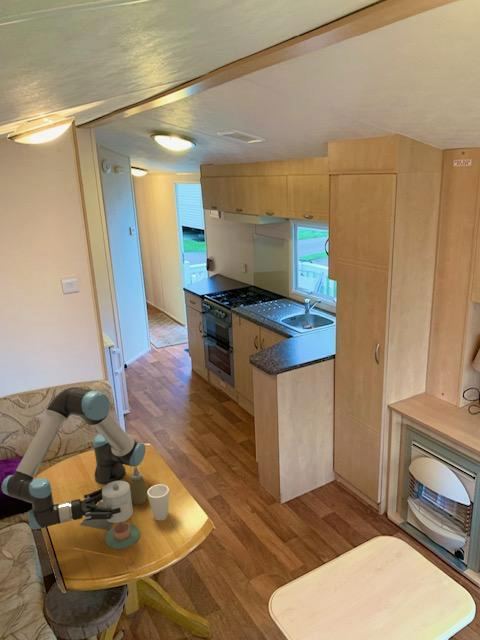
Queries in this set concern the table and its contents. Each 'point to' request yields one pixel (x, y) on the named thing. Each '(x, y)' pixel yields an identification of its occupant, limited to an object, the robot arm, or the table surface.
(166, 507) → the foam cup
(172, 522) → the table surface
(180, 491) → the table surface
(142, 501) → the squeeze bottle
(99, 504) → the mat
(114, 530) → the green and pink dish
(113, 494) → the lidded canister
